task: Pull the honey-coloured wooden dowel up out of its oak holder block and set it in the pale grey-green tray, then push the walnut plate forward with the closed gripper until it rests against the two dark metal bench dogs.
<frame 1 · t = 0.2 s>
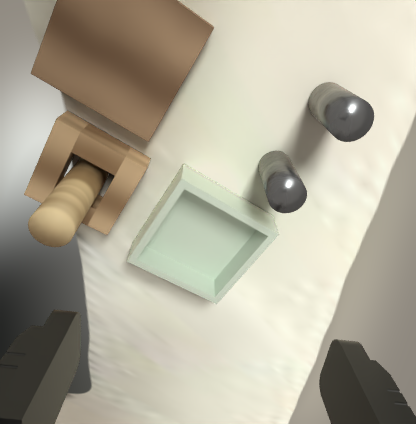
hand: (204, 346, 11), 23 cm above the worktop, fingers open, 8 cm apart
holder block: (92, 170, 33), on the worktop
bench dogs: (299, 135, 31), on the worktop
dowel: (92, 170, 33), resting in holder block
plate: (126, 47, 28), on the worktop
tray: (201, 229, 36), on the worktop
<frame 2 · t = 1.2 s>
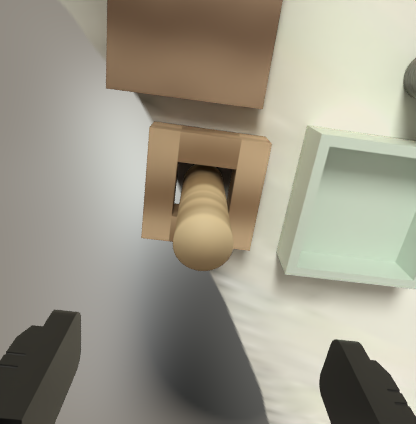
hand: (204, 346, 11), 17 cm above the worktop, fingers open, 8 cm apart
holder block: (203, 182, 27), on the worktop
dowel: (203, 182, 27), resting in holder block
plate: (195, 14, 23), on the worktop
tray: (356, 201, 27), on the worktop
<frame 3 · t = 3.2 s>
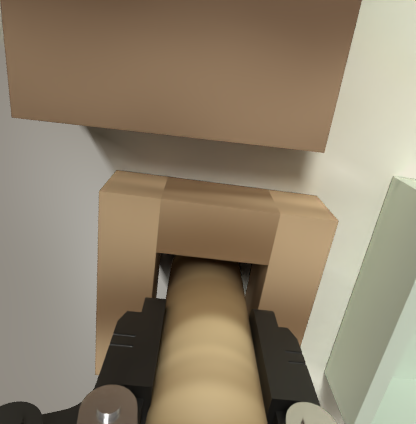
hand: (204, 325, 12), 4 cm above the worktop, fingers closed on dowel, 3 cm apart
holder block: (205, 269, 15), on the worktop
dowel: (205, 269, 15), resting in holder block, touching gripper
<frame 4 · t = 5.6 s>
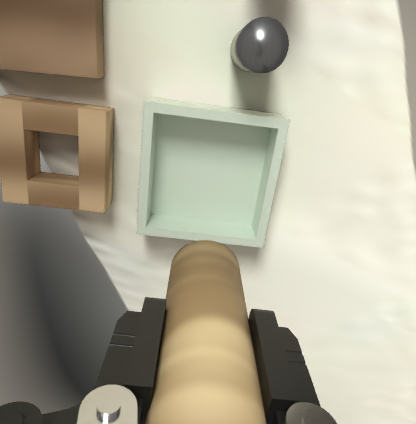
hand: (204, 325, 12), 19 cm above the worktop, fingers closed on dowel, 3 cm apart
holder block: (64, 151, 29), on the worktop
dowel: (205, 270, 15), point 16 cm above the worktop, touching gripper
tray: (207, 168, 30), on the worktop
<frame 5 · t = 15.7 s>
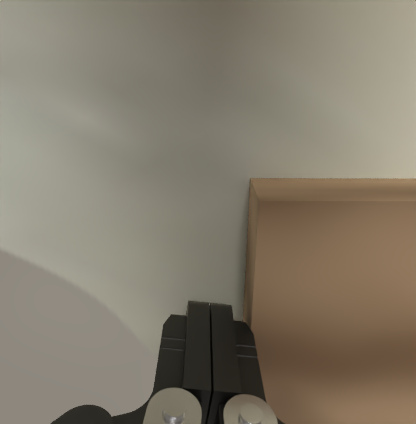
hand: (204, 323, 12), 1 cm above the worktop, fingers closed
plate: (370, 297, 14), on the worktop
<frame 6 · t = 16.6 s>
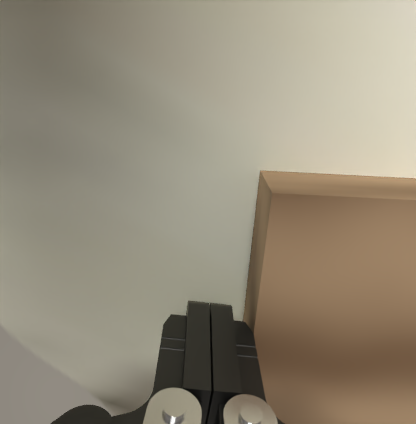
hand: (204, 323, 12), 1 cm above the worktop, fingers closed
plate: (372, 299, 14), on the worktop, touching gripper
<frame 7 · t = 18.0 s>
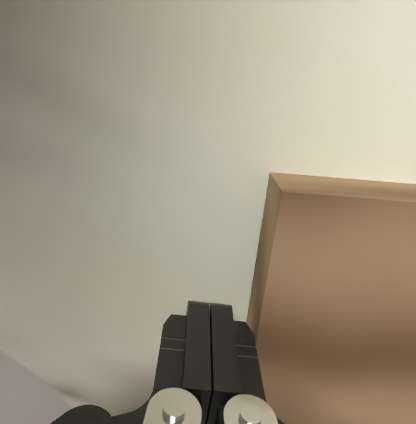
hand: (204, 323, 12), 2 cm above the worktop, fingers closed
plate: (370, 297, 14), on the worktop
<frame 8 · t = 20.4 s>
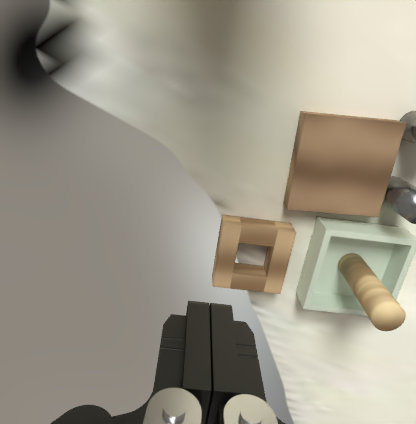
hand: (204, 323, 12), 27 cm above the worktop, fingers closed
holder block: (250, 249, 42), on the worktop
bench dogs: (400, 158, 38), on the worktop
dowel: (350, 264, 42), point 1 cm above the worktop, touching tray
plate: (335, 162, 38), on the worktop
tray: (348, 261, 42), on the worktop
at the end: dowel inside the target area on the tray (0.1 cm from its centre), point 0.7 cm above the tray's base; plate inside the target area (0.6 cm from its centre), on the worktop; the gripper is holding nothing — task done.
